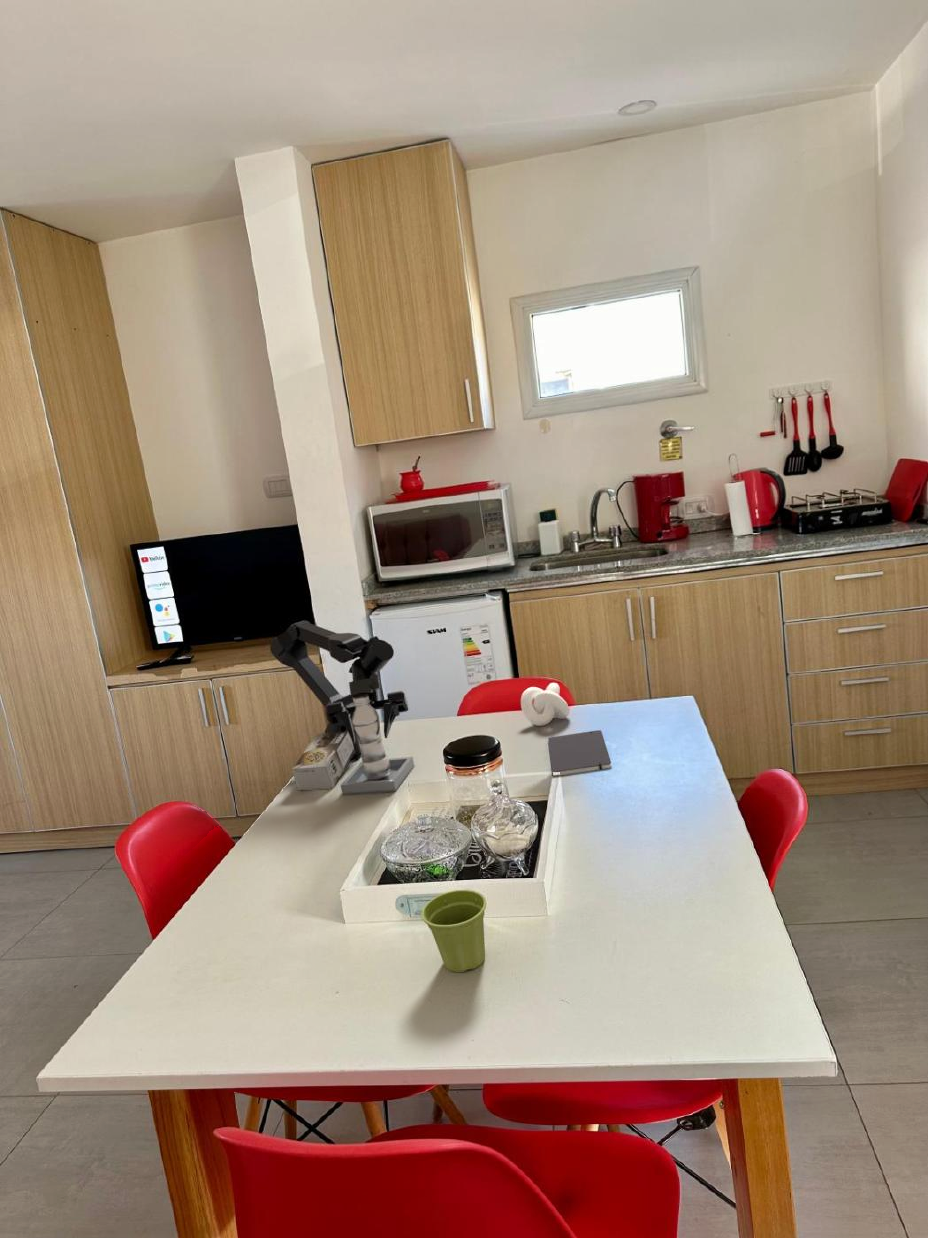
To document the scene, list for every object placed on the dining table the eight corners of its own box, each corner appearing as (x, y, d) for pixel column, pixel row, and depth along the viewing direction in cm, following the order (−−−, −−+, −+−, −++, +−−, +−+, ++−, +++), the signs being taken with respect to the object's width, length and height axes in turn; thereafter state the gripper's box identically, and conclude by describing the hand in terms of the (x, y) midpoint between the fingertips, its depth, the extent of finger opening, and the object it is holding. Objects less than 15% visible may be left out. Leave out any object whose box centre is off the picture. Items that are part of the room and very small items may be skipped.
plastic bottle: (397, 771, 202) (379, 690, 199) (385, 783, 196) (366, 699, 193) (372, 773, 204) (354, 693, 201) (360, 784, 198) (341, 701, 195)
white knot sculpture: (582, 714, 220) (577, 681, 218) (554, 731, 211) (548, 697, 210) (547, 710, 228) (542, 678, 226) (519, 726, 219) (513, 693, 218)
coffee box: (333, 790, 200) (356, 752, 214) (325, 766, 198) (350, 730, 212) (298, 791, 203) (323, 754, 217) (290, 768, 201) (316, 732, 215)
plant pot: (475, 986, 118) (464, 930, 117) (420, 974, 124) (408, 920, 122) (508, 947, 126) (497, 894, 124) (454, 937, 131) (444, 886, 130)
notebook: (549, 743, 205) (553, 778, 185) (547, 737, 205) (552, 772, 184) (601, 735, 204) (612, 770, 183) (600, 729, 204) (611, 763, 183)
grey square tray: (364, 770, 208) (362, 760, 208) (414, 766, 205) (412, 756, 204) (342, 795, 195) (340, 785, 195) (396, 791, 192) (393, 781, 191)
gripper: (318, 671, 199) (321, 732, 190) (397, 657, 198) (403, 717, 190) (329, 694, 208) (333, 752, 199) (405, 680, 208) (412, 739, 199)
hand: (369, 740), depth 197 cm, fingers open, 7 cm apart
